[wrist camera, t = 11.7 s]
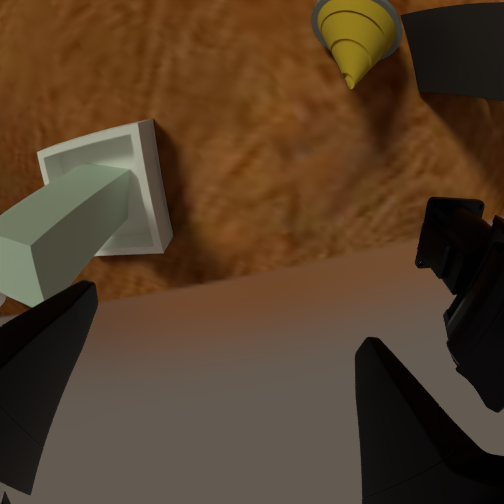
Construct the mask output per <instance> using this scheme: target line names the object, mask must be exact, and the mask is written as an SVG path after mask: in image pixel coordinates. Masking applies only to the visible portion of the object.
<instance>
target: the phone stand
mask: <svg viewBox="0 0 504 504" xmlns="http://www.w3.org/2000/svg"><path fill="white" fill-rule="evenodd" d="M401 18H402V22H403V25H404V28H405V32H406V35H407V39H408V43H409V47H410V51H411V55H412V59H413V64H414V69H415V74H416V79H417V84H418V90H419V92H431V93H445V94H456V95H465V96H473V97H480V98H487V99H493V100H499V101H504V2H497V3H475V4H464V5H455V6H447V7H440V8H434V9H428V10H423V11H418V12H413V13H408V14H404V15H401Z"/></svg>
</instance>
